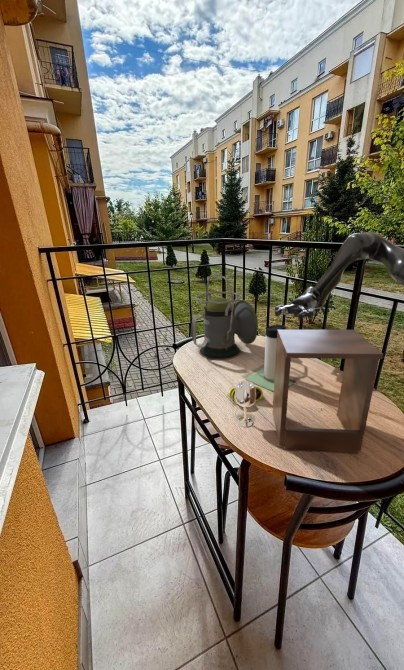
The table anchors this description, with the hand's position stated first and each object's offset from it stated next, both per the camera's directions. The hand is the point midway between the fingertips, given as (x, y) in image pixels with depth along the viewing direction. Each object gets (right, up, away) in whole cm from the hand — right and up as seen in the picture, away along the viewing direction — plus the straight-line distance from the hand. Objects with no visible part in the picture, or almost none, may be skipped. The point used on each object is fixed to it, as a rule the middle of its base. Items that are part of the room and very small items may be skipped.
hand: (287, 315), depth 102 cm
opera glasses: (-17, -28, -12) cm, 35 cm away
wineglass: (-19, -32, -23) cm, 44 cm away
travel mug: (-6, -23, -1) cm, 24 cm away
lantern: (-19, -14, +26) cm, 35 cm away
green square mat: (-6, -23, -1) cm, 24 cm away
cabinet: (-2, -33, -27) cm, 42 cm away
